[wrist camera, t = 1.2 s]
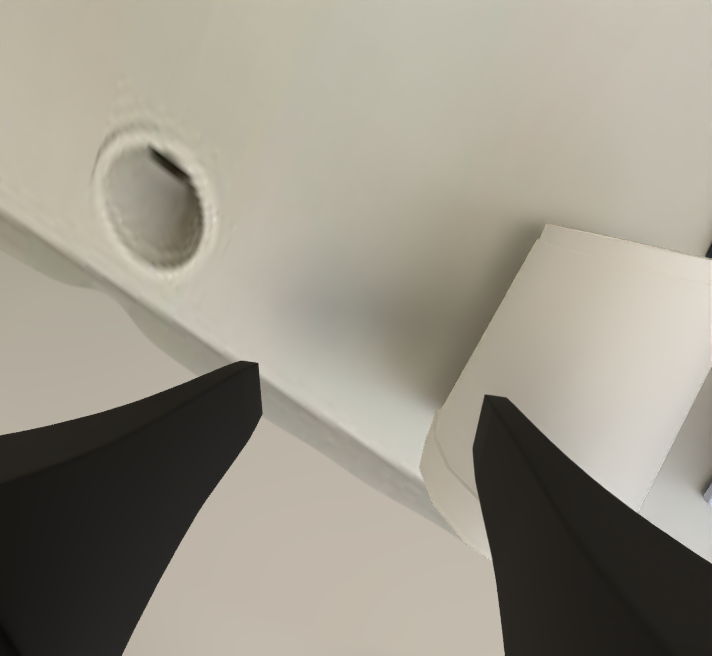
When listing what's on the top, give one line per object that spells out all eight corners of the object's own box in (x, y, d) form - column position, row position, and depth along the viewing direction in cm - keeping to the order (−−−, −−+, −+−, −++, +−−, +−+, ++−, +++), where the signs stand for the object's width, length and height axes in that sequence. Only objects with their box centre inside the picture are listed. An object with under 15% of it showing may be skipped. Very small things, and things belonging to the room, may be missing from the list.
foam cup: (840, 291, 6) (547, 641, 11) (844, 287, 11) (640, 530, 17) (459, 205, 13) (386, 448, 18) (569, 227, 18) (487, 412, 23)
